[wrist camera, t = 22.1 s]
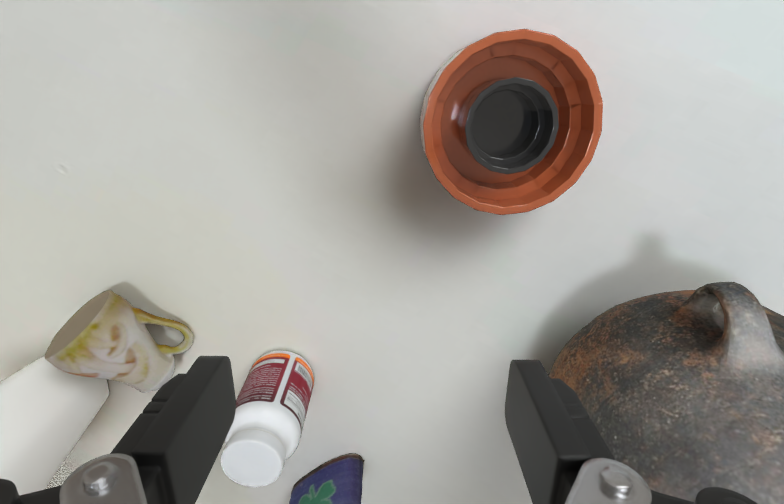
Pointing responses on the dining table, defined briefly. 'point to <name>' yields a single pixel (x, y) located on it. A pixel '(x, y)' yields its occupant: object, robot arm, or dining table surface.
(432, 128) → the terracotta bowl
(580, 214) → the dining table surface
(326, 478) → the flask
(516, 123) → the black bowl
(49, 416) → the cup
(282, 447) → the pill bottle
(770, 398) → the jug
